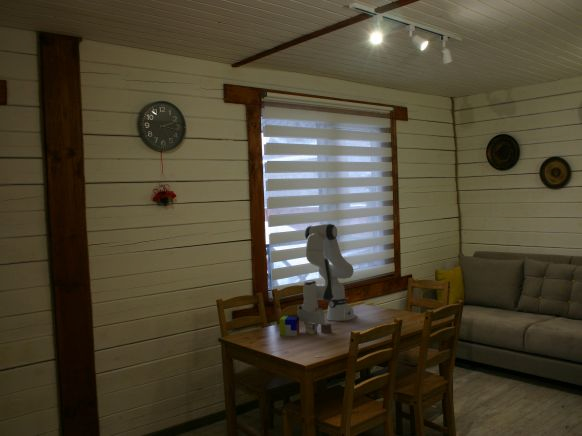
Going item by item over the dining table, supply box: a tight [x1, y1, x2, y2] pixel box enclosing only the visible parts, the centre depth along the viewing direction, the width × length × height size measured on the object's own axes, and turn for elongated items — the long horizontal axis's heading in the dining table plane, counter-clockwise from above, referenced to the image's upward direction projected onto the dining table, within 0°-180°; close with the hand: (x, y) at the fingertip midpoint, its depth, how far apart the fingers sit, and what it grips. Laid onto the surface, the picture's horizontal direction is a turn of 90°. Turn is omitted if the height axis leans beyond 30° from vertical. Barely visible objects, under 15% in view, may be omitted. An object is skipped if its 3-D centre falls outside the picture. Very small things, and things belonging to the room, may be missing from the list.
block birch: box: [305, 322, 318, 335], centre depth 320 cm, size 5×5×6 cm
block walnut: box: [320, 322, 333, 334], centre depth 321 cm, size 4×4×5 cm
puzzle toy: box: [279, 315, 300, 337], centre depth 319 cm, size 10×10×10 cm
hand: (311, 329), depth 320 cm, fingers closed on block birch, 5 cm apart
